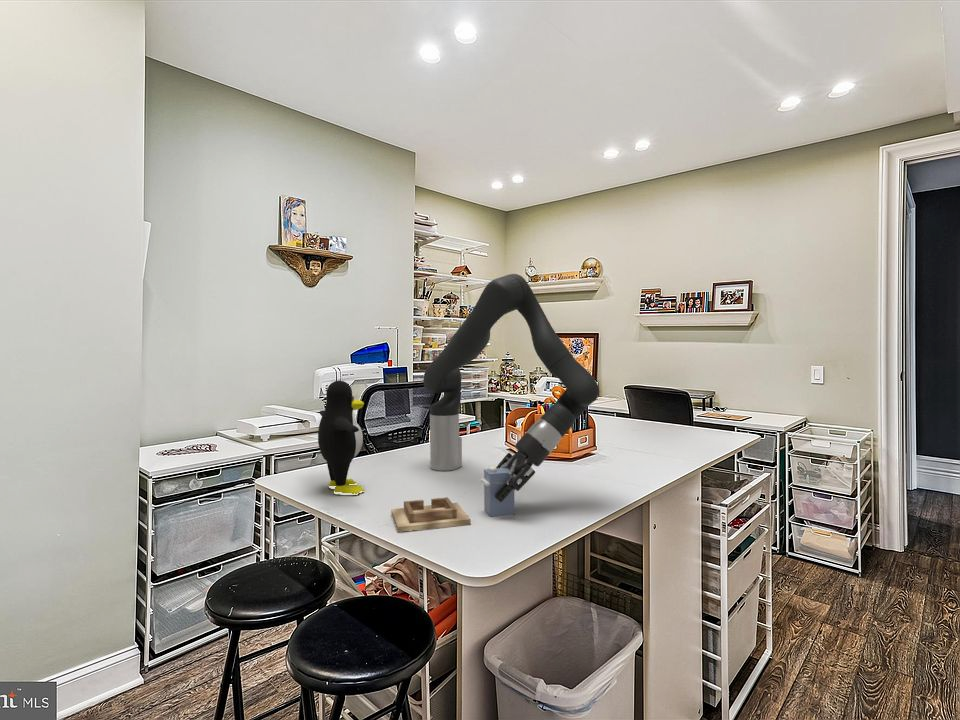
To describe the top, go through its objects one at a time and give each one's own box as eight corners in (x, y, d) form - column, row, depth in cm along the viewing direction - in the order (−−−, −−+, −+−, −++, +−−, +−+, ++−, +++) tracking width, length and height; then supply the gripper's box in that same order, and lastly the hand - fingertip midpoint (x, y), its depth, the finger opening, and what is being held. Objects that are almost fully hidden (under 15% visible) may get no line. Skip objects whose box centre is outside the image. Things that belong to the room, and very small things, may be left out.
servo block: (511, 507, 124) (511, 463, 123) (518, 513, 120) (517, 467, 119) (480, 511, 122) (480, 465, 121) (486, 517, 117) (485, 470, 117)
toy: (387, 504, 127) (385, 384, 126) (336, 513, 121) (334, 387, 119) (347, 471, 159) (345, 375, 157) (306, 477, 153) (303, 377, 151)
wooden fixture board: (457, 507, 124) (457, 494, 124) (470, 524, 113) (470, 510, 113) (391, 514, 120) (391, 500, 120) (397, 532, 108) (397, 517, 108)
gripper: (517, 426, 129) (473, 476, 126) (540, 437, 115) (490, 493, 112) (537, 446, 131) (493, 495, 128) (561, 458, 117) (513, 514, 114)
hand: (492, 494), depth 120 cm, fingers open, 6 cm apart
